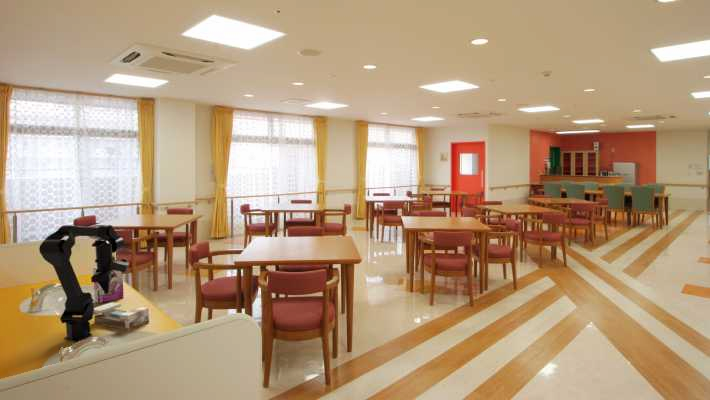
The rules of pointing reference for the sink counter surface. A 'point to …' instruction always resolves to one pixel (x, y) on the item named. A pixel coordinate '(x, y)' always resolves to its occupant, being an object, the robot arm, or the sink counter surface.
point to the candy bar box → (114, 290)
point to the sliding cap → (106, 309)
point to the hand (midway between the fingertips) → (107, 293)
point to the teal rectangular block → (116, 314)
